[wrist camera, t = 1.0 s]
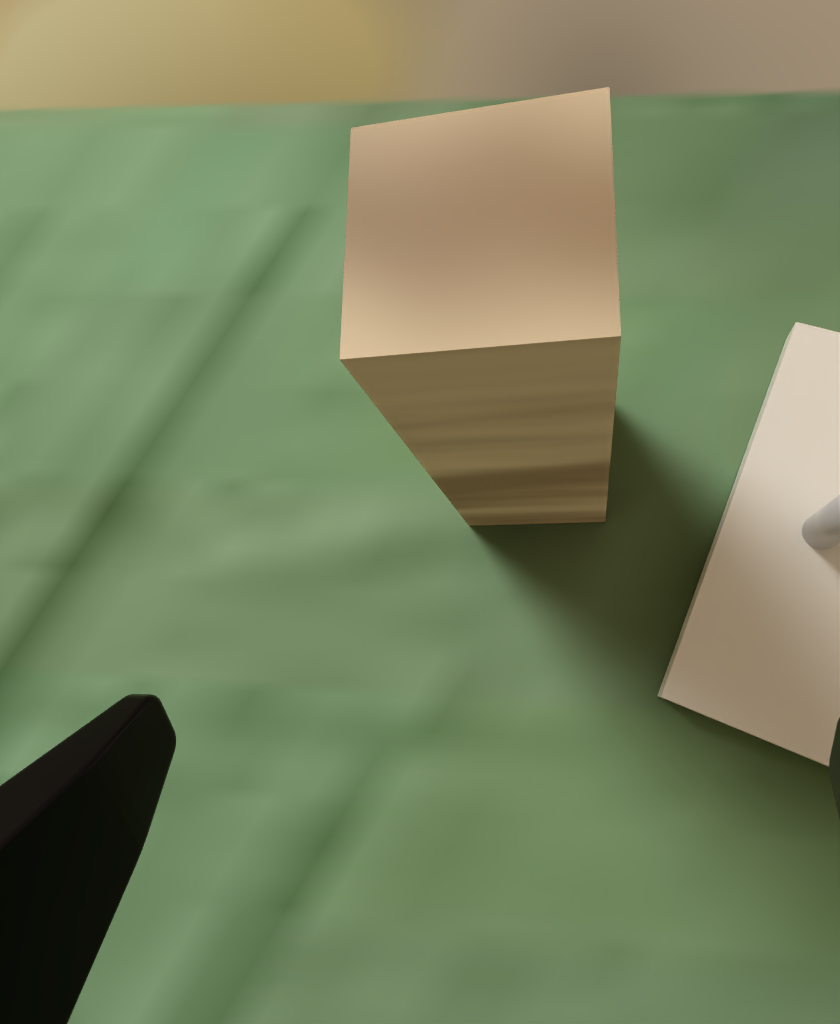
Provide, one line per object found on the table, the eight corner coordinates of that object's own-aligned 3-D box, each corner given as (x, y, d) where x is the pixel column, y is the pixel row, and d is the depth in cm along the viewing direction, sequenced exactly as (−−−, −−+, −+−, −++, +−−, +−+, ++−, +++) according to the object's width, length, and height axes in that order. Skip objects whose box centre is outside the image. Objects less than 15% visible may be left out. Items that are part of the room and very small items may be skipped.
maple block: (605, 521, 23) (620, 335, 11) (468, 525, 24) (339, 359, 12) (600, 392, 24) (609, 86, 12) (469, 401, 25) (351, 127, 13)
